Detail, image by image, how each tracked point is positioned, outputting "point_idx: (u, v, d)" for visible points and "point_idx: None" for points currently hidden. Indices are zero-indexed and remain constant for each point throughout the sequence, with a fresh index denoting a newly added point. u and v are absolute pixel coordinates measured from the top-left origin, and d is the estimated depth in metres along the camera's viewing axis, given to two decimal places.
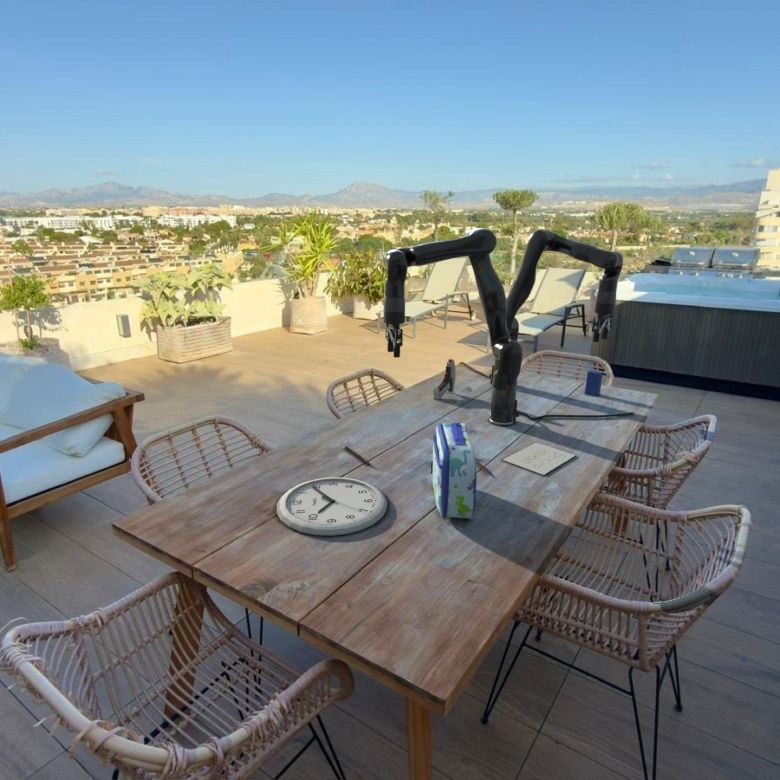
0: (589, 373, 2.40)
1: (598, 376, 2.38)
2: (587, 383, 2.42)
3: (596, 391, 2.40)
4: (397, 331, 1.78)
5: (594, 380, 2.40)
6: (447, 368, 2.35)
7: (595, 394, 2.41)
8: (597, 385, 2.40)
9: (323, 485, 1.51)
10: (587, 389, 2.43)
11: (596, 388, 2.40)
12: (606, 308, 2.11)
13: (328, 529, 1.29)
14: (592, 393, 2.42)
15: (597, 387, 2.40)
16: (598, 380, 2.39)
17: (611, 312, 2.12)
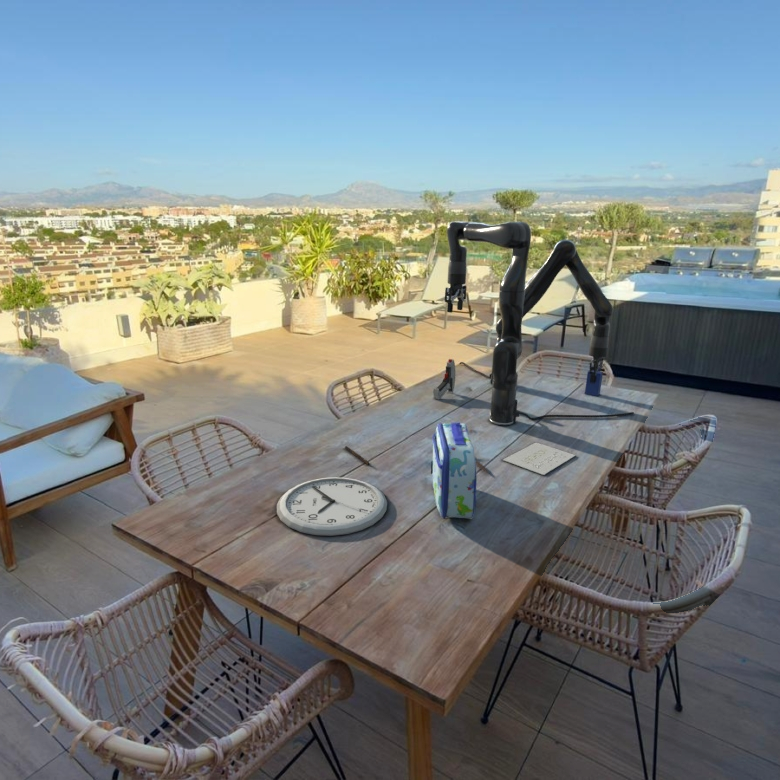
0: None
1: (598, 376, 2.38)
2: (587, 383, 2.42)
3: (596, 391, 2.40)
4: None
5: None
6: (447, 368, 2.35)
7: (595, 394, 2.41)
8: (597, 385, 2.40)
9: (323, 485, 1.51)
10: (587, 389, 2.43)
11: (596, 388, 2.40)
12: (600, 352, 2.34)
13: (328, 529, 1.29)
14: (592, 393, 2.42)
15: (597, 387, 2.40)
16: (598, 380, 2.39)
17: (605, 355, 2.35)
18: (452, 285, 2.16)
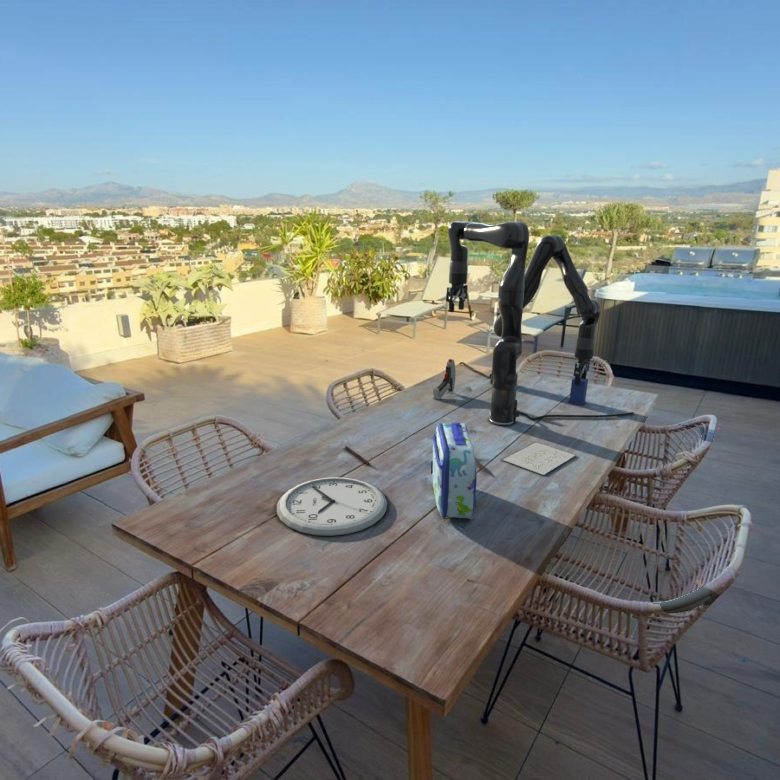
0: (573, 381, 2.28)
1: (583, 384, 2.26)
2: (571, 391, 2.29)
3: (581, 400, 2.28)
4: None
5: (579, 388, 2.27)
6: (447, 368, 2.35)
7: (580, 403, 2.28)
8: (582, 393, 2.27)
9: (323, 485, 1.51)
10: (572, 398, 2.30)
11: (581, 396, 2.28)
12: (586, 354, 2.21)
13: (328, 529, 1.29)
14: (577, 402, 2.29)
15: (582, 395, 2.27)
16: (583, 388, 2.26)
17: (591, 357, 2.22)
18: (453, 285, 2.17)
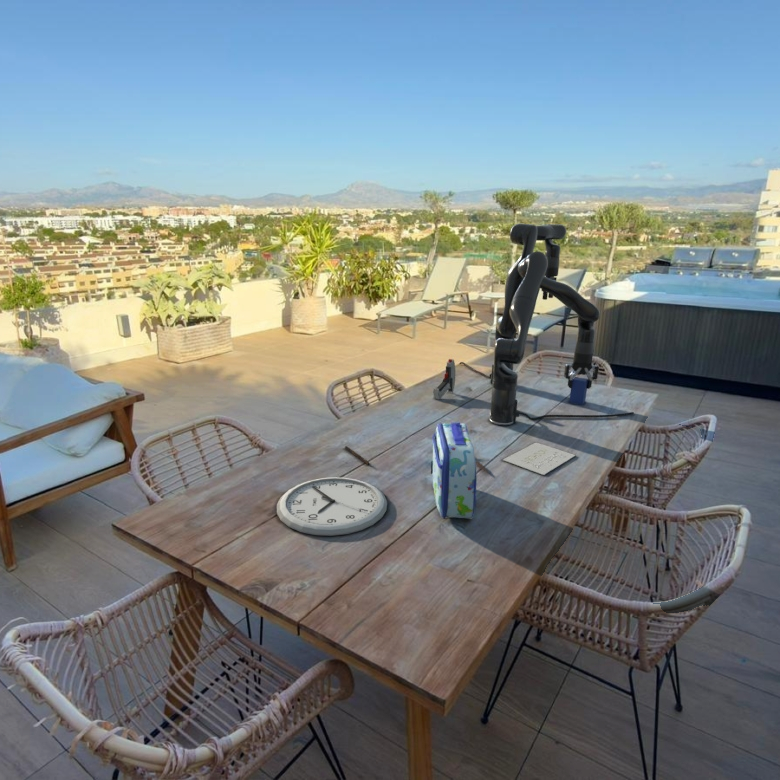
0: (574, 381, 2.28)
1: (583, 384, 2.26)
2: (572, 391, 2.29)
3: (581, 400, 2.28)
4: None
5: (579, 388, 2.27)
6: (447, 368, 2.35)
7: (580, 403, 2.28)
8: (582, 393, 2.27)
9: (323, 485, 1.51)
10: (572, 398, 2.30)
11: (581, 396, 2.28)
12: (552, 271, 2.59)
13: (328, 529, 1.29)
14: (577, 402, 2.29)
15: (582, 395, 2.27)
16: (583, 388, 2.26)
17: (556, 274, 2.60)
18: (573, 362, 2.26)
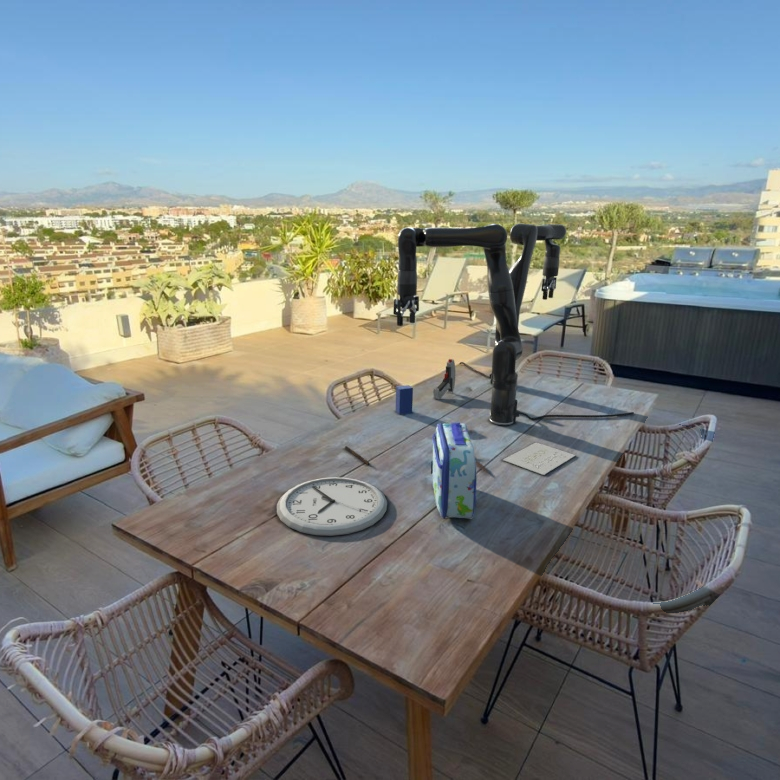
0: (402, 390, 2.10)
1: (411, 391, 2.12)
2: (401, 402, 2.11)
3: (410, 408, 2.14)
4: None
5: (407, 397, 2.12)
6: (447, 368, 2.35)
7: (410, 411, 2.14)
8: (411, 401, 2.13)
9: (323, 485, 1.51)
10: (402, 409, 2.13)
11: (410, 404, 2.13)
12: (552, 271, 2.59)
13: (328, 529, 1.29)
14: (407, 411, 2.14)
15: (411, 403, 2.13)
16: (411, 395, 2.12)
17: (556, 274, 2.60)
18: (401, 296, 1.98)
